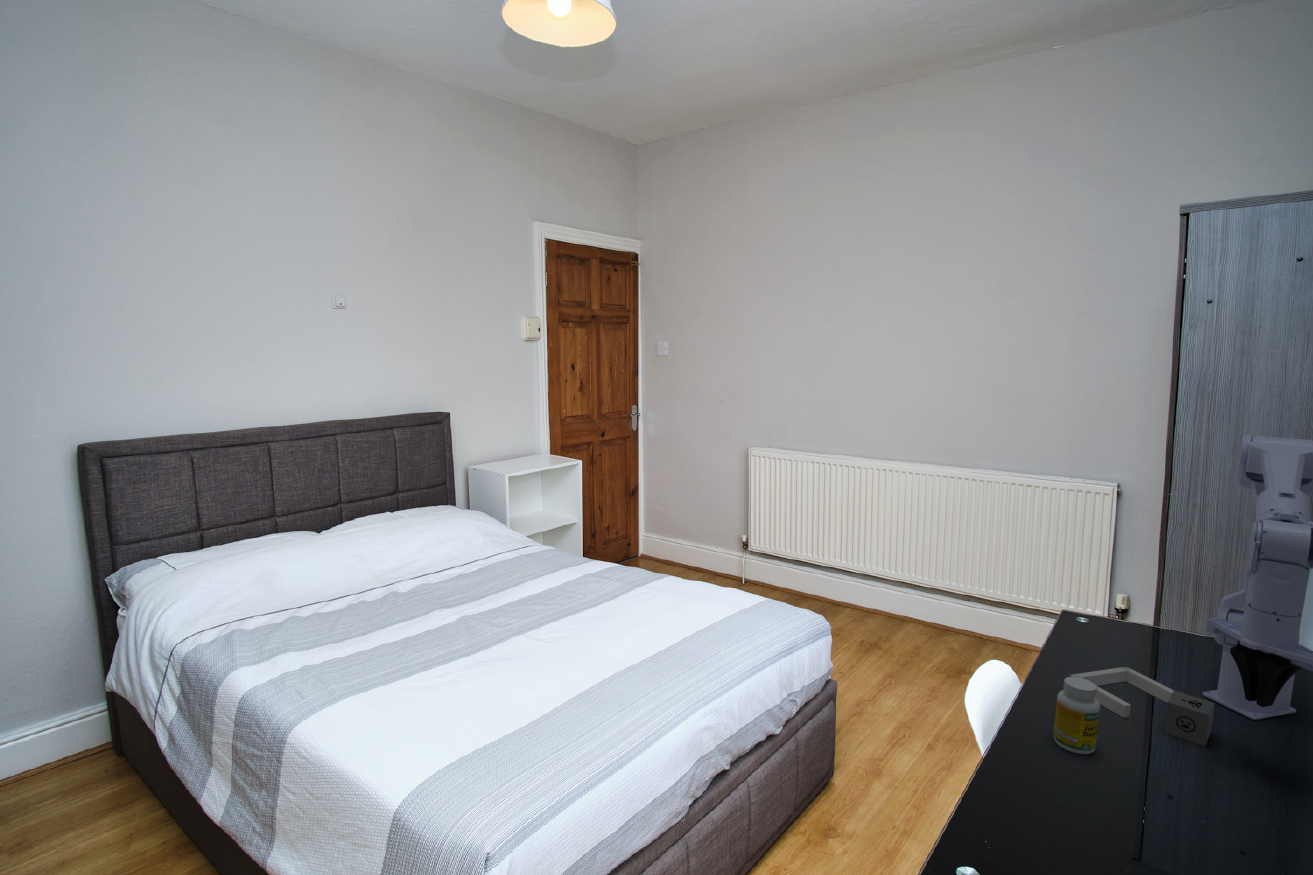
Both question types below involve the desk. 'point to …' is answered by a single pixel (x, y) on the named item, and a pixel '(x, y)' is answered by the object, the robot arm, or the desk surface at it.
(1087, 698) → the supplement bottle
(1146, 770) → the desk surface
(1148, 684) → the grey angular bar shape
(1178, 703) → the dice cube
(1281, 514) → the robot arm
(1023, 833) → the desk surface
